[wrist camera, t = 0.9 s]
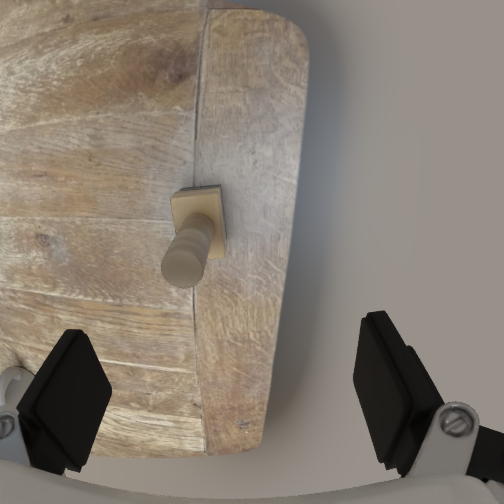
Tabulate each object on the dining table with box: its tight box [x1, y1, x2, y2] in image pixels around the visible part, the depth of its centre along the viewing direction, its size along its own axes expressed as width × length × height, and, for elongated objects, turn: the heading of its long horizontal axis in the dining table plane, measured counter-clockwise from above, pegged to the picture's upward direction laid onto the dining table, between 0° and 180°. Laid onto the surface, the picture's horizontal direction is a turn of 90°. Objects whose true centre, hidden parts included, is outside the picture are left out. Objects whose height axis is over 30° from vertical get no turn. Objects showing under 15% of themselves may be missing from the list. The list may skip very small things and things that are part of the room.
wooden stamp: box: [161, 185, 227, 288], centre depth 22 cm, size 5×4×10 cm
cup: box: [0, 367, 35, 416], centre depth 32 cm, size 7×10×9 cm
